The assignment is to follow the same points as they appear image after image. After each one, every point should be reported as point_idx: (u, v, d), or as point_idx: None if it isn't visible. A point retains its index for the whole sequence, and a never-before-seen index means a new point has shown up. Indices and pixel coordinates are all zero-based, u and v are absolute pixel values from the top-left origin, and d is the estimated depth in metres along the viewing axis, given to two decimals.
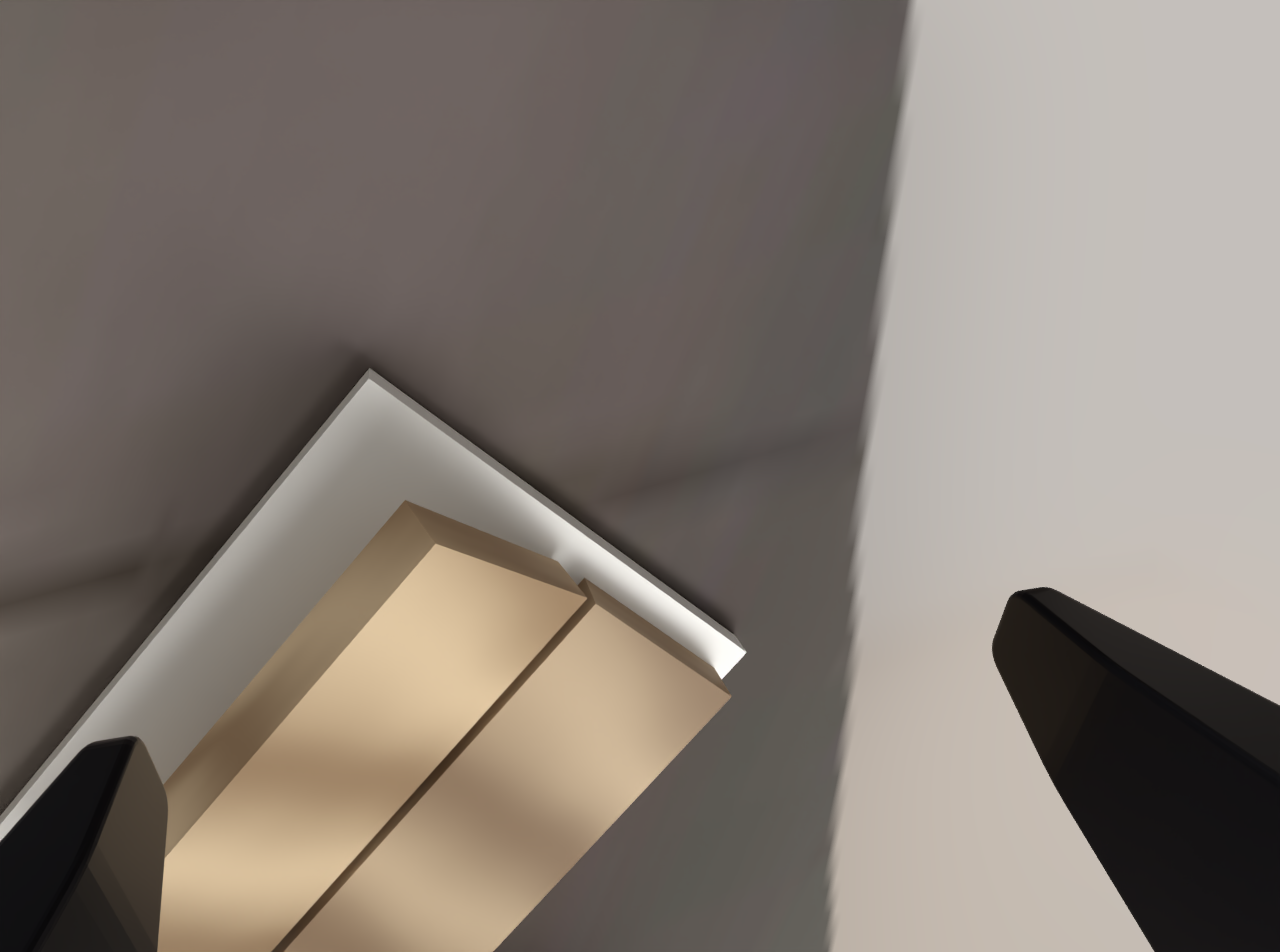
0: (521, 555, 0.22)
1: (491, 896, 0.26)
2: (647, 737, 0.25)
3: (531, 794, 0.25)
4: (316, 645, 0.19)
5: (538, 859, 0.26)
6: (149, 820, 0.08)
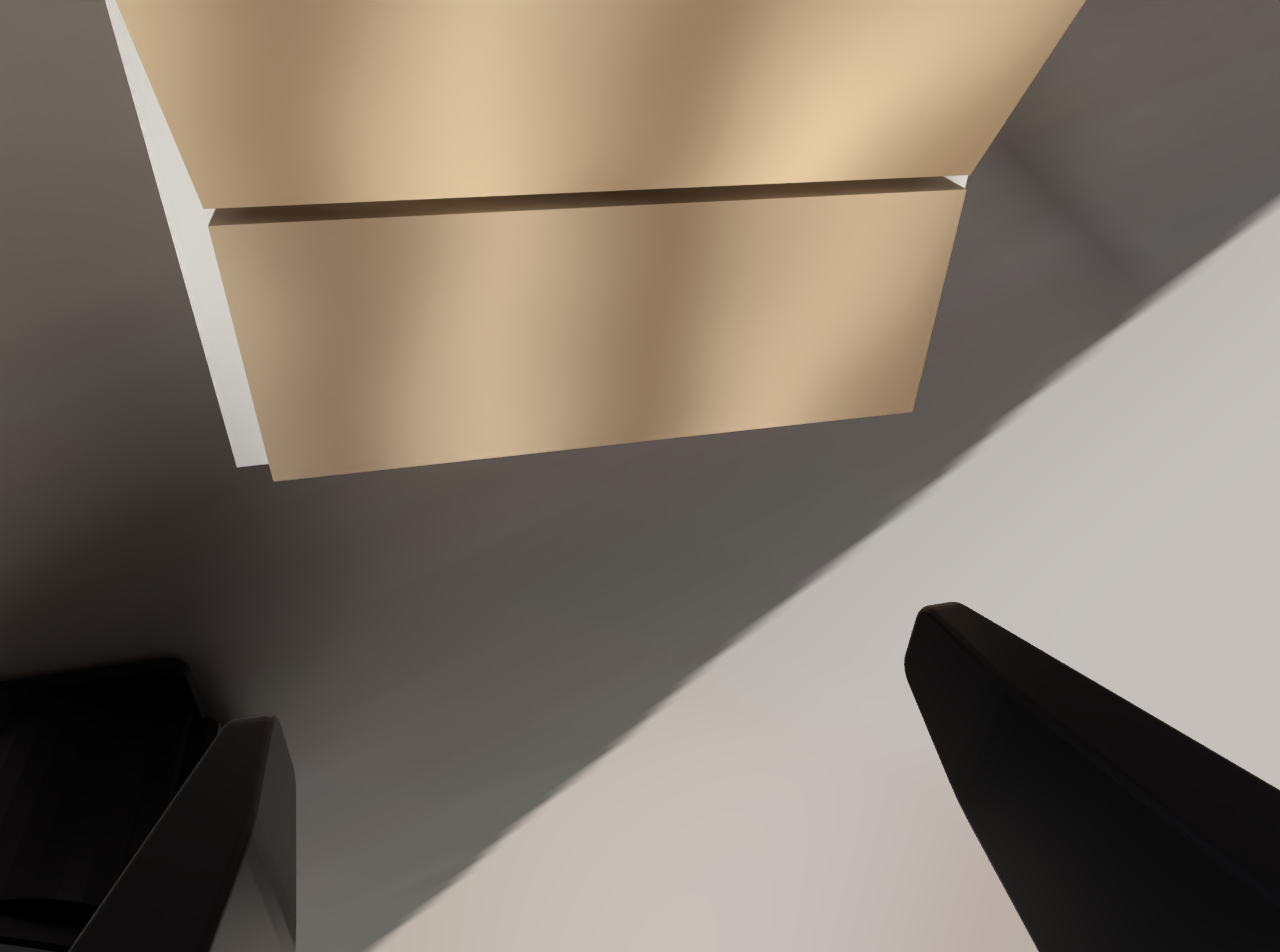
0: None
1: (540, 395, 0.19)
2: (829, 376, 0.20)
3: (699, 323, 0.19)
4: None
5: (620, 400, 0.19)
6: (285, 795, 0.08)
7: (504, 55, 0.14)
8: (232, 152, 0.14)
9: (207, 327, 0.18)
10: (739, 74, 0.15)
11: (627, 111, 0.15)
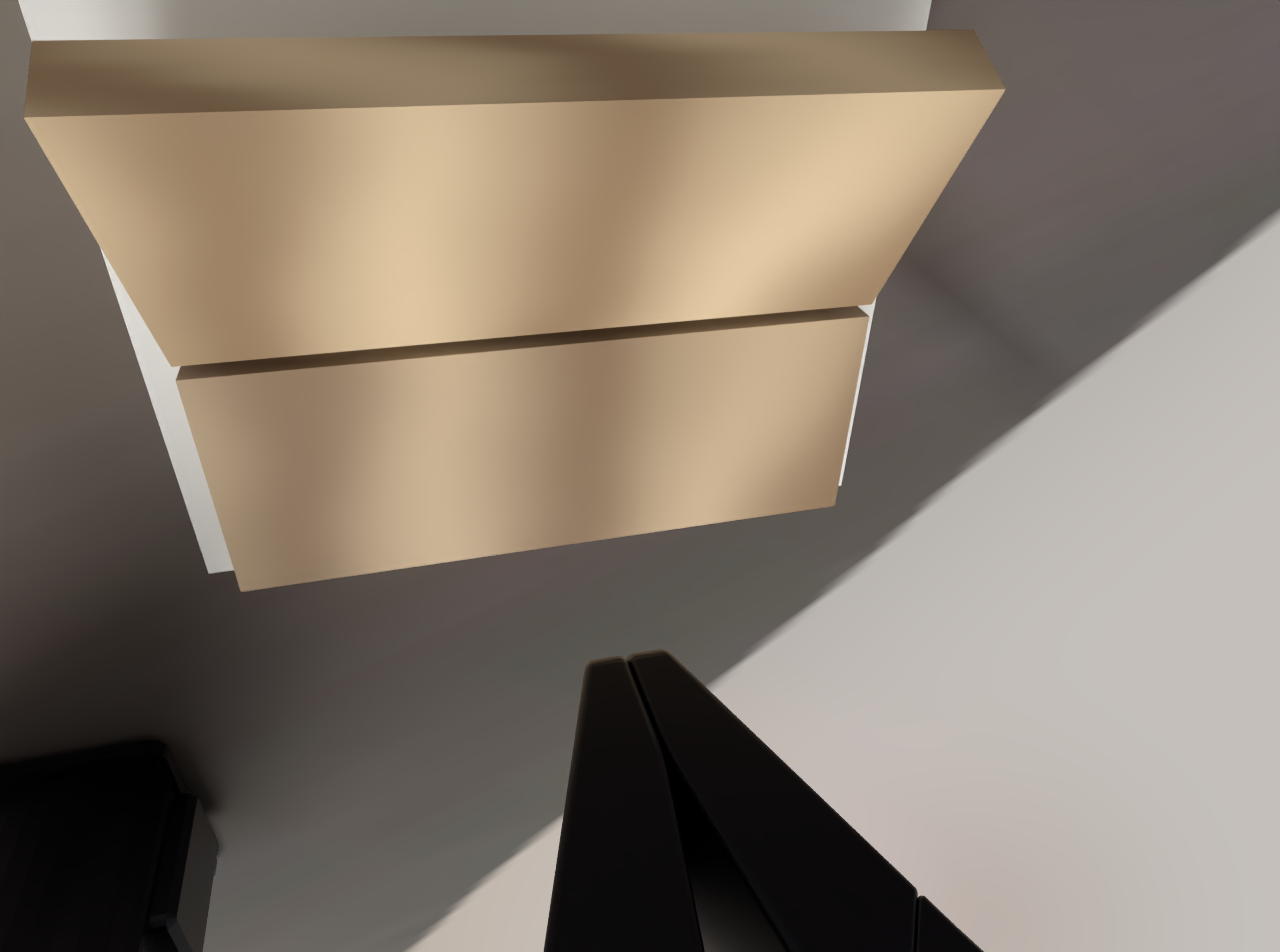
0: None
1: (485, 507, 0.21)
2: (754, 479, 0.22)
3: (630, 440, 0.21)
4: (798, 65, 0.14)
5: (560, 508, 0.21)
6: None
7: (433, 243, 0.15)
8: (195, 324, 0.16)
9: (178, 455, 0.20)
10: (646, 244, 0.17)
11: (548, 276, 0.17)
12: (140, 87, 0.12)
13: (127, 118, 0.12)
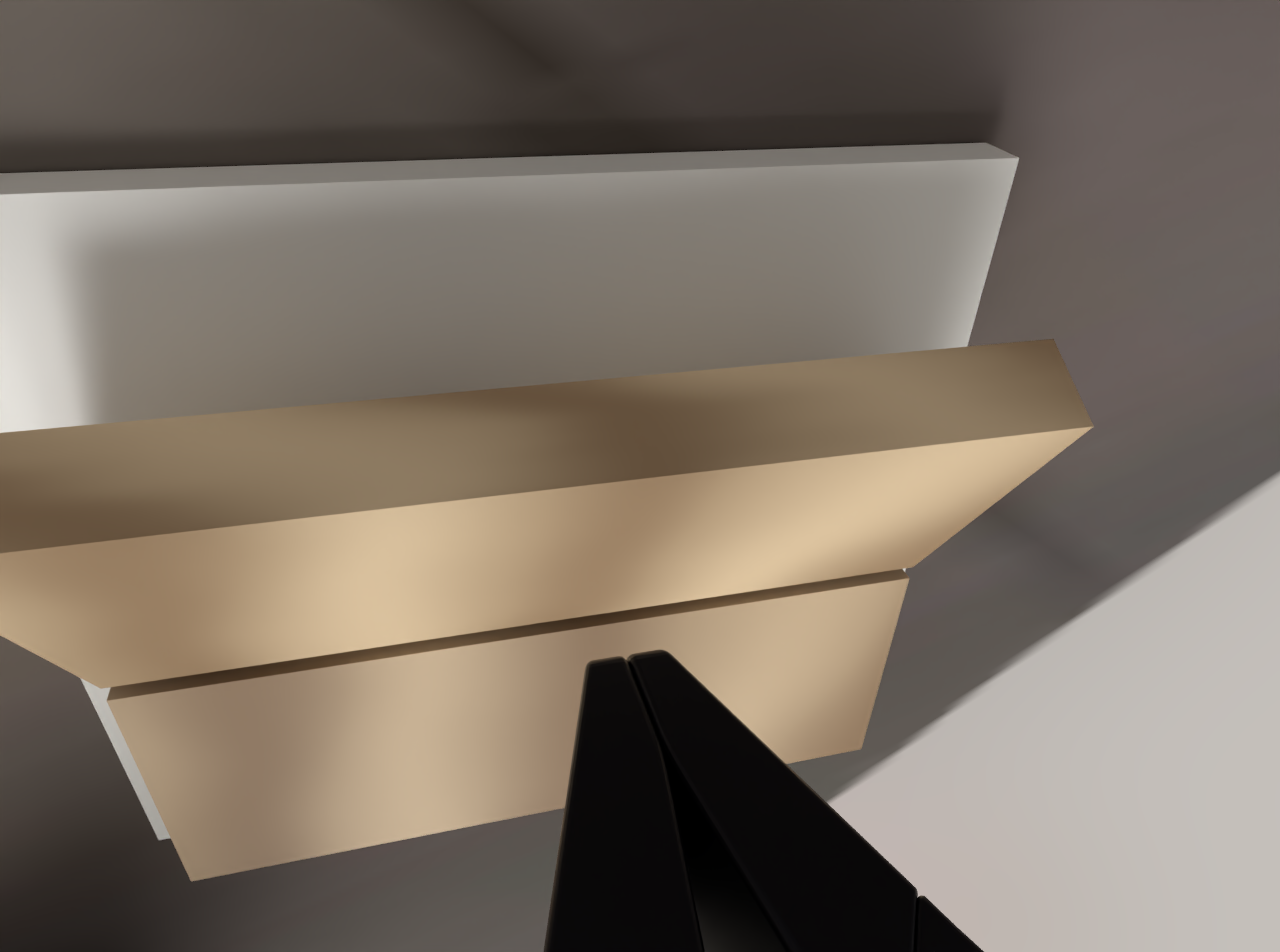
0: None
1: (469, 783, 0.18)
2: (773, 733, 0.20)
3: None
4: (846, 408, 0.12)
5: (554, 777, 0.19)
6: None
7: (404, 587, 0.13)
8: (124, 663, 0.14)
9: (120, 736, 0.17)
10: (658, 561, 0.14)
11: (542, 591, 0.14)
12: (28, 506, 0.10)
13: (8, 554, 0.09)
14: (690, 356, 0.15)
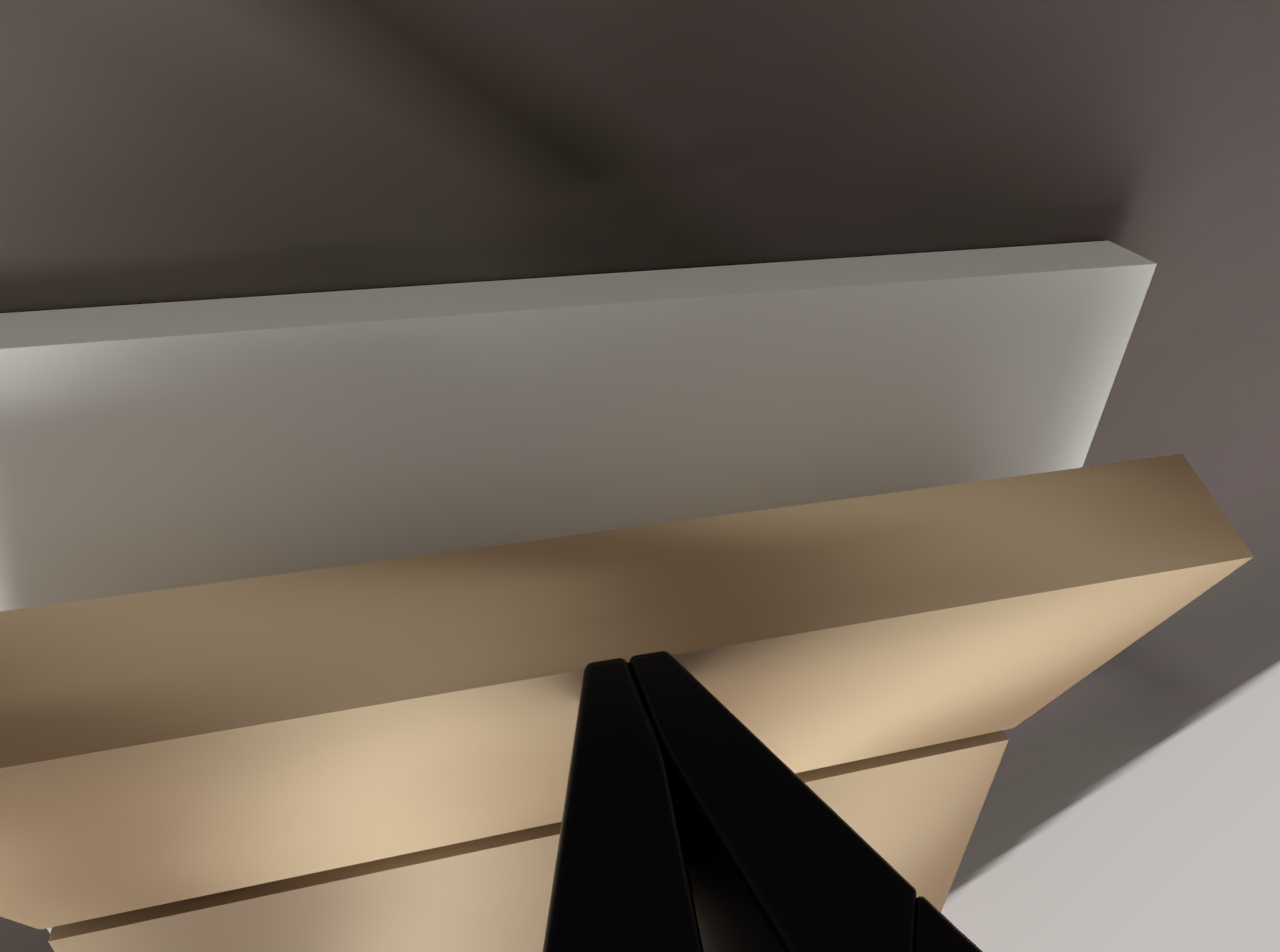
0: None
1: None
2: None
3: None
4: (953, 547, 0.10)
5: None
6: None
7: (413, 791, 0.10)
8: (65, 900, 0.11)
9: None
10: None
11: None
12: None
13: None
14: (758, 501, 0.13)
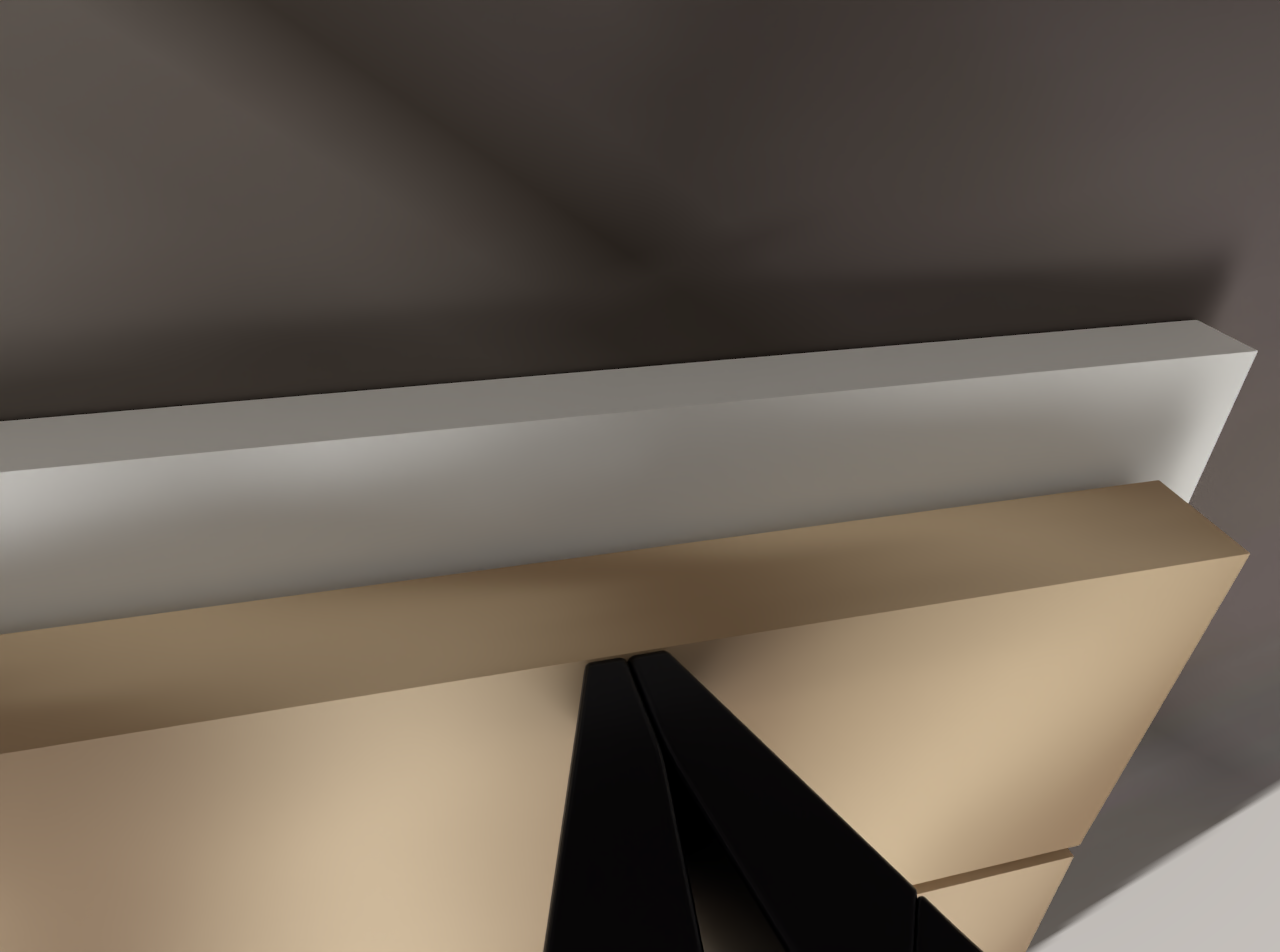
0: None
1: None
2: None
3: None
4: (943, 556, 0.10)
5: None
6: None
7: (416, 870, 0.10)
8: None
9: None
10: None
11: None
12: None
13: None
14: None
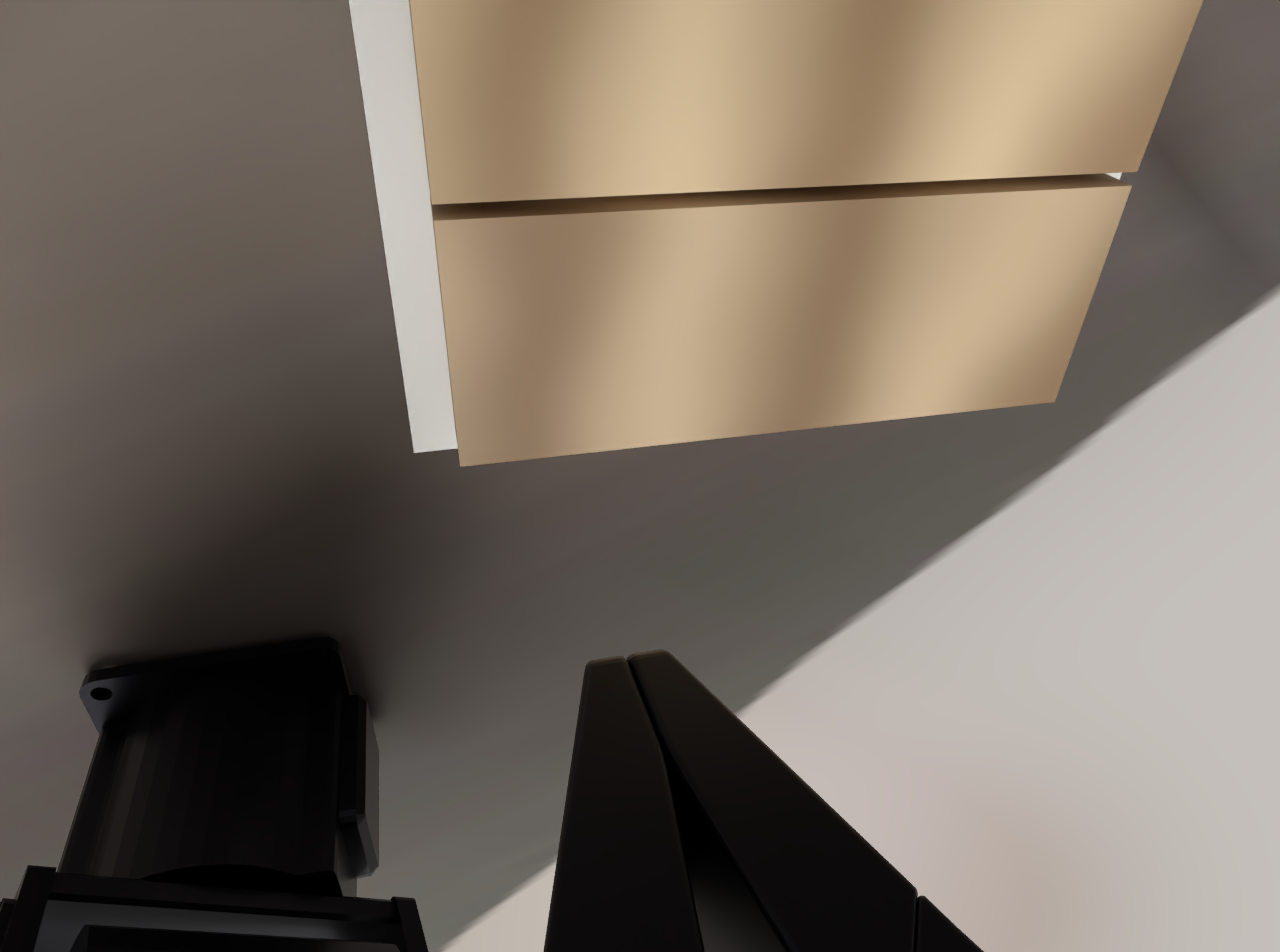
0: None
1: (714, 384, 0.20)
2: (982, 367, 0.21)
3: (869, 315, 0.19)
4: None
5: (787, 389, 0.20)
6: None
7: (720, 16, 0.15)
8: (470, 130, 0.15)
9: (403, 317, 0.18)
10: (922, 41, 0.16)
11: (823, 85, 0.16)
12: None
13: None
14: None
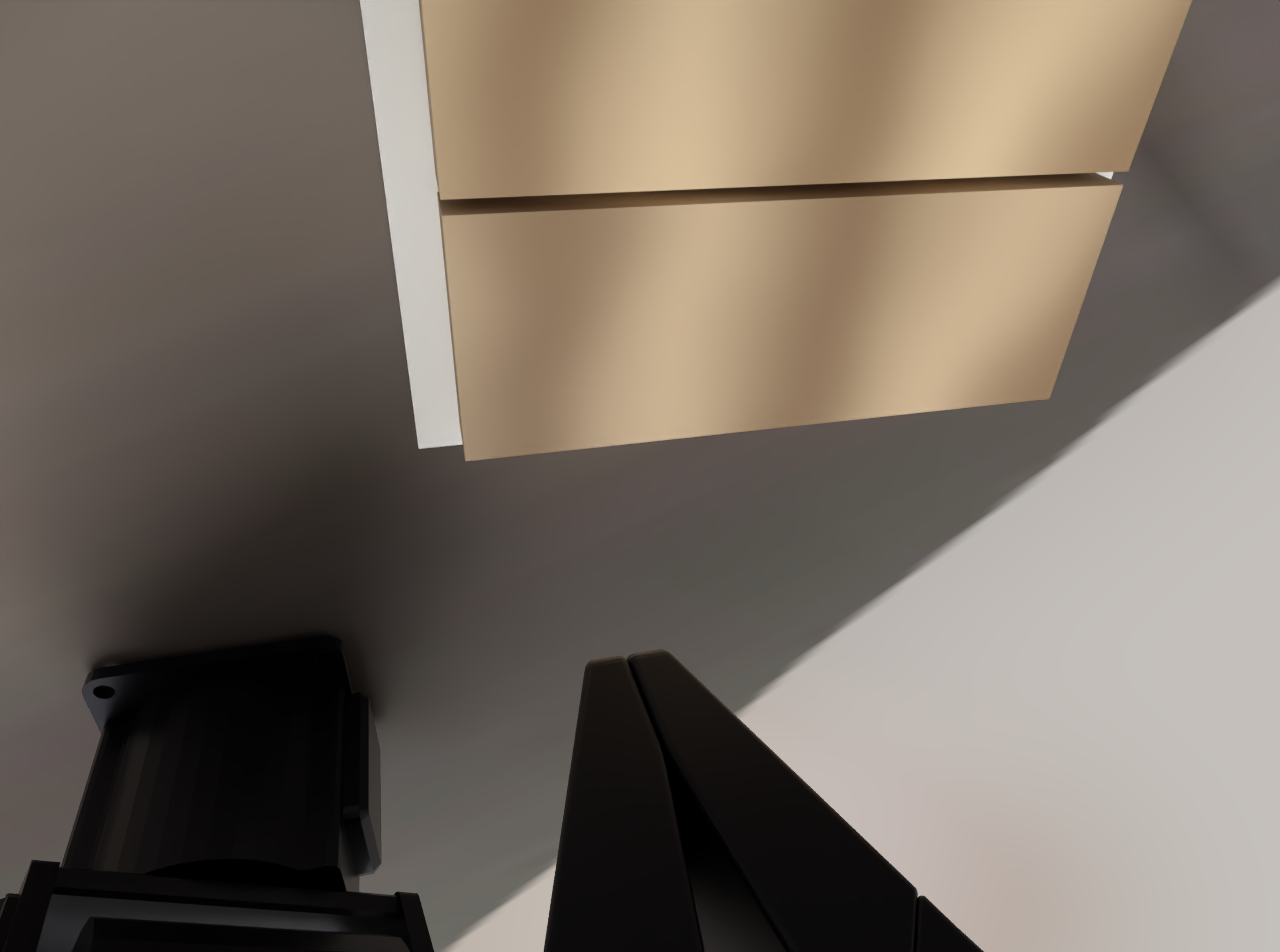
0: None
1: (716, 380, 0.20)
2: (978, 364, 0.21)
3: (868, 312, 0.20)
4: None
5: (787, 385, 0.20)
6: None
7: (722, 16, 0.15)
8: (479, 126, 0.15)
9: (409, 313, 0.19)
10: (919, 42, 0.17)
11: (823, 84, 0.17)
12: None
13: None
14: None
